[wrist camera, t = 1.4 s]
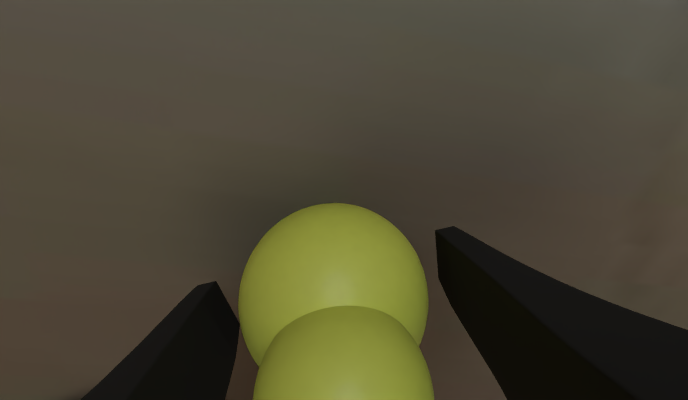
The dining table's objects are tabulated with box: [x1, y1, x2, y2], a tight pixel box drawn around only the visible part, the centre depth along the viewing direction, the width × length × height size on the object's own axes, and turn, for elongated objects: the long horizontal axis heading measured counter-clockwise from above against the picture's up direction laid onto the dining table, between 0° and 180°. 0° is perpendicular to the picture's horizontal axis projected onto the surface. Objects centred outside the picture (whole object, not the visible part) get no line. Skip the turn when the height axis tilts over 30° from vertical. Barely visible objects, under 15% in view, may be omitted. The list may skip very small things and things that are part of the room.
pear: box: [238, 203, 434, 400], centre depth 7 cm, size 6×6×9 cm
